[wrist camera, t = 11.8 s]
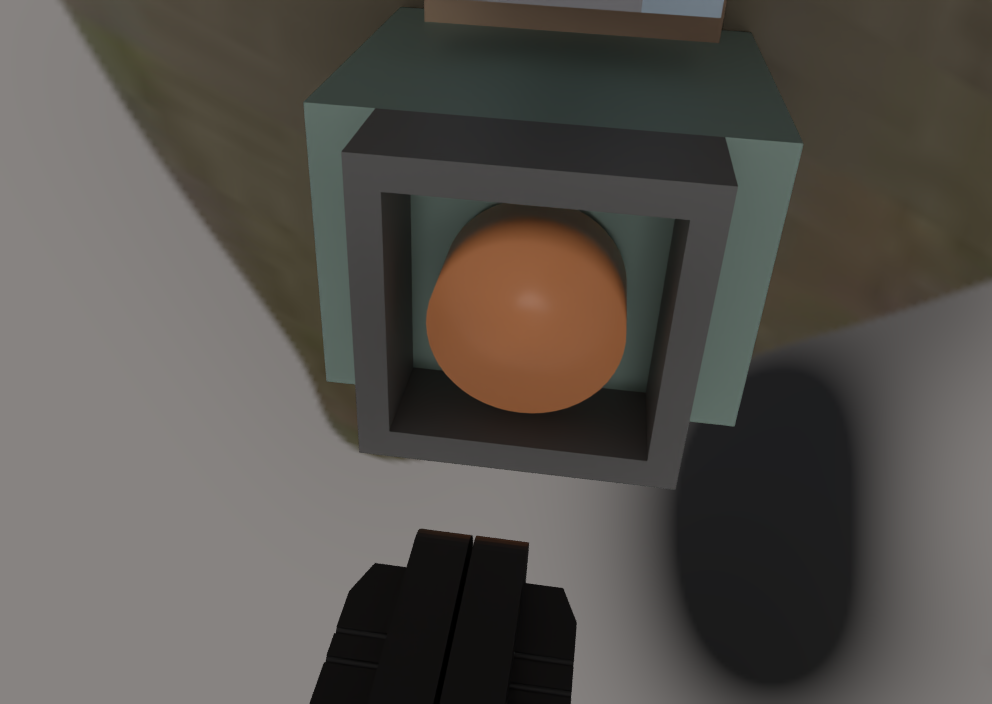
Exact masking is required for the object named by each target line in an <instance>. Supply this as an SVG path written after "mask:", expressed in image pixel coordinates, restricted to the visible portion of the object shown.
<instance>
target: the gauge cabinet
mask: <svg viewBox="0 0 992 704" xmlns="http://www.w3.org/2000/svg"><path fill="white" fill-rule="evenodd" d="M303 103H304V115H305V127H306V139H307V151H308V163H309V175H310V187H311V199H312V211H313V223H314V235H315V247H316V259H317V271H318V283H319V295H320V307H321V319H322V331H323V343H324V355H325V367H326V379H327V381H330V382H339V383H348V384H355V388H356V404H357V420H358V437H359V452H360V453H369V454H377V455H386V456H394V457H403V458H411V459H420V460H428V461H437V462H445V463H454V464H462V465H471V466H479V467H488V468H496V469H505V470H513V471H521V472H531V473H539V474H547V475H555V476H564V477H572V478H582V479H590V480H599V481H607V482H616V483H623V484H633V485H640V486H649V487H657V488H666V489H674V490H675V488H676V484H677V479H678V474H679V470H680V465H681V460H682V455H683V450H684V445H685V440H686V436H687V431H688V426H689V421H691V422H700V423H709V424H718V425H727V426H735V422H736V418H737V413H738V409H739V405H740V401H741V397H742V393H743V389H744V385H745V380H746V376H747V373H748V369H749V365H750V360H751V356H752V352H753V348H754V344H755V340H756V336H757V332H758V328H759V324H760V320H761V315H762V311H763V307H764V303H765V299H766V295H767V291H768V287H769V283H770V279H771V275H772V270H773V266H774V262H775V258H776V254H777V250H778V246H779V242H780V238H781V234H782V229H783V225H784V221H785V217H786V213H787V209H788V205H789V201H790V197H791V193H792V189H793V184H794V180H795V176H796V172H797V168H798V164H799V160H800V156H801V152H802V148H803V142H802V139H801V137H800V135H799V133H798V131H797V129H796V127H795V125H794V122H793V120H792V118H791V116H790V114H789V112H788V110H787V108H786V105H785V103H784V101H783V99H782V97H781V95H780V93H779V91H778V89H777V86H776V84H775V82H774V80H773V78H772V76H771V74H770V72H769V69H768V67H767V65H766V63H765V61H764V59H763V57H762V55H761V52H760V50H759V48H758V46H757V44H756V42H755V40H754V38H753V35H752V33H751V32H739V31H725V30H722V31H721V37H720V42H719V43H710V42H697V41H683V40H670V39H656V38H642V37H629V36H615V35H602V34H588V33H574V32H561V31H547V30H534V29H520V28H506V27H493V26H479V25H465V24H452V23H438V22H425V21H424V9H420V8H406V7H400V8H399V9H398V10H397V11H396V12H395V13H394V14H393V15H392V16H391V17H390V18H389V19H388V20H387V21H386V22H385V23H384V24H383V25H382V26H381V27H380V28H379V29H378V30H377V31H376V32H375V33H374V34H373V35H372V36H371V37H370V38H369V39H368V40H367V41H366V42H365V43H364V44H363V45H361V46H360V47H359V48H358V49H357V50H356V51H355V52H354V53H353V54H352V55H351V56H350V57H349V58H348V59H347V60H346V61H345V62H344V63H343V64H342V65H341V66H340V67H339V68H338V69H337V70H336V71H335V72H334V73H333V74H332V75H331V76H330V77H329V78H328V79H327V80H326V81H325V82H324V83H323V84H322V85H321V86H320V87H319V88H318V89H317V90H316V91H315V92H313V93H312V94H311V95H310V96H309V97H308V98H307V99H306V100H305V101H304V102H303ZM502 203H508V204H519V205H530V206H541V207H552V208H563V209H574V210H578V211H580V212H582V213H584V214H585V215H587V216H589V217H590V218H591V219H593V220H594V221H595V222H597V223H598V224H599V225H600V226H601V227H602V228H603V229H604V230H605V231H606V232H607V233H608V235H609V236H610V237H611V238H612V240H613V241H614V243H615V244H616V246H617V248H618V250H619V252H620V254H621V257H622V259H623V262H624V266H625V270H626V278H627V328H626V344H625V349H624V353H623V356H622V359H621V361H620V364H619V366H618V367H617V369H616V371H615V373H614V374H613V376H612V377H611V378H610V379H609V381H608V382H607V383H606V384H605V385H604V386H603V387H602V388H601V389H600V390H599V391H597V392H596V393H595V394H593V395H592V396H591V397H589V398H587V399H586V400H584V401H582V402H580V403H578V404H576V405H573V406H571V407H568V408H565V409H561V410H557V411H552V412H545V413H519V412H513V411H507V410H503V409H500V408H496V407H493V406H491V405H488V404H486V403H483V402H481V401H479V400H477V399H475V398H474V397H472V396H470V395H469V394H467V393H466V392H464V391H463V390H462V389H461V388H459V387H458V386H457V385H456V384H455V383H454V382H453V381H452V380H451V379H450V378H449V377H448V376H447V375H446V374H445V372H444V371H443V370H442V368H441V367H440V366H439V364H438V362H437V360H436V359H435V357H434V355H433V352H432V350H431V347H430V345H429V340H428V336H427V328H426V317H427V309H428V304H429V300H430V298H431V295H432V293H433V290H434V288H435V285H436V282H437V280H438V277H439V275H440V272H441V270H442V267H443V264H444V262H445V259H446V257H447V254H448V252H449V249H450V247H451V244H452V243H453V241H454V239H455V238H456V236H457V235H458V233H459V232H460V231H461V230H462V228H463V227H464V226H465V225H466V224H467V223H468V222H469V221H471V220H472V219H473V218H474V217H476V216H477V215H479V214H480V213H481V212H483V211H485V210H487V209H489V208H491V207H494V206H496V205H499V204H502Z"/></svg>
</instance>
